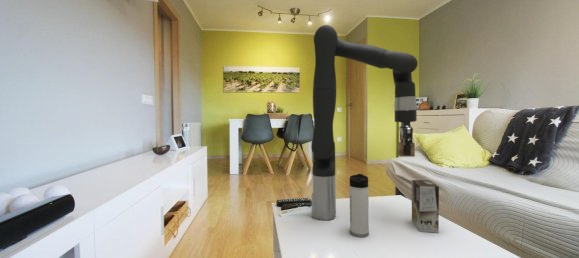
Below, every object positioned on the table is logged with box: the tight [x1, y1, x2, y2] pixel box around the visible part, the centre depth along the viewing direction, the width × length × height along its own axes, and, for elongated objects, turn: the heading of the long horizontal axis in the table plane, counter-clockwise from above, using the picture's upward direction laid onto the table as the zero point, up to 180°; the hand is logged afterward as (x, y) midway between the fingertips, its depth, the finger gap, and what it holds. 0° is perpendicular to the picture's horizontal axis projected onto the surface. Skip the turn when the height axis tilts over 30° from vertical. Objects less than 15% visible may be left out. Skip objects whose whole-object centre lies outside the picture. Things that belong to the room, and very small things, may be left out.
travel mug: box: [349, 173, 370, 238], centre depth 81 cm, size 6×7×20 cm
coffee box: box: [411, 179, 440, 233], centre depth 85 cm, size 9×6×16 cm
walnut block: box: [397, 141, 416, 158], centre depth 90 cm, size 5×5×5 cm
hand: (406, 153), depth 90 cm, fingers closed on walnut block, 5 cm apart
